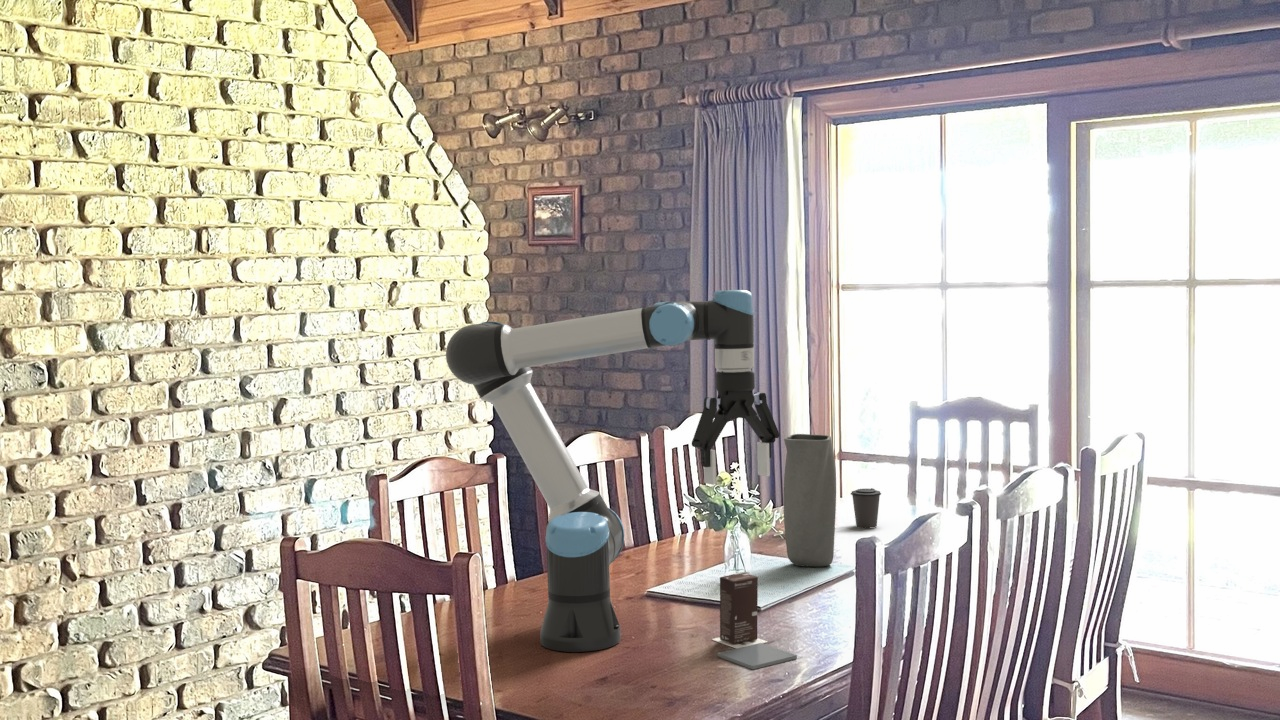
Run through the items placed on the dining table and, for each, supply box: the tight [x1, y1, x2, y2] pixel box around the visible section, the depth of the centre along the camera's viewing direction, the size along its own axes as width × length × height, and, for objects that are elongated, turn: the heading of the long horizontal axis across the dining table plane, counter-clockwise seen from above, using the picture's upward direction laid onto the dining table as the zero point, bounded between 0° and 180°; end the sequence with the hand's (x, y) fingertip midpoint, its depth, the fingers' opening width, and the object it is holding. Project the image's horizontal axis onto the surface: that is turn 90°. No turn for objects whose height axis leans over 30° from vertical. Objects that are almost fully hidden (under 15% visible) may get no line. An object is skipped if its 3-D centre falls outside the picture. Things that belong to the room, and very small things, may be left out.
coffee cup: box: [850, 487, 882, 529], centre depth 343 cm, size 8×8×10 cm
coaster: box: [716, 643, 798, 670], centre depth 229 cm, size 10×10×1 cm
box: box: [719, 572, 759, 644], centre depth 239 cm, size 6×4×12 cm
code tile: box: [711, 636, 769, 649], centre depth 239 cm, size 7×8×1 cm
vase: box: [782, 433, 837, 568], centre depth 300 cm, size 12×12×30 cm
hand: (737, 479), depth 249 cm, fingers open, 13 cm apart
